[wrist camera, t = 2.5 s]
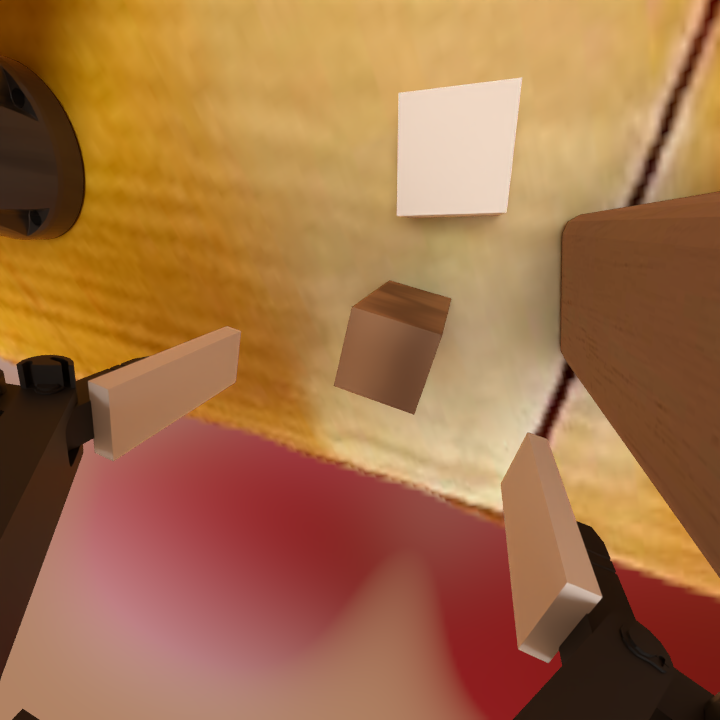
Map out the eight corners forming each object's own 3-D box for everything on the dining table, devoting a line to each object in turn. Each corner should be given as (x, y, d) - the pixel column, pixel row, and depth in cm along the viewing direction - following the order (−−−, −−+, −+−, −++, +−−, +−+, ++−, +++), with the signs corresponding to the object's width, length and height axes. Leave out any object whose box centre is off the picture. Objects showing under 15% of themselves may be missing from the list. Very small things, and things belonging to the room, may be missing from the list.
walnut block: (374, 337, 30) (333, 385, 21) (389, 280, 28) (352, 306, 19) (431, 356, 29) (414, 414, 20) (451, 298, 27) (442, 335, 18)
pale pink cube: (411, 218, 26) (396, 215, 21) (414, 122, 24) (398, 92, 19) (498, 215, 24) (506, 212, 19) (509, 113, 22) (522, 77, 17)
